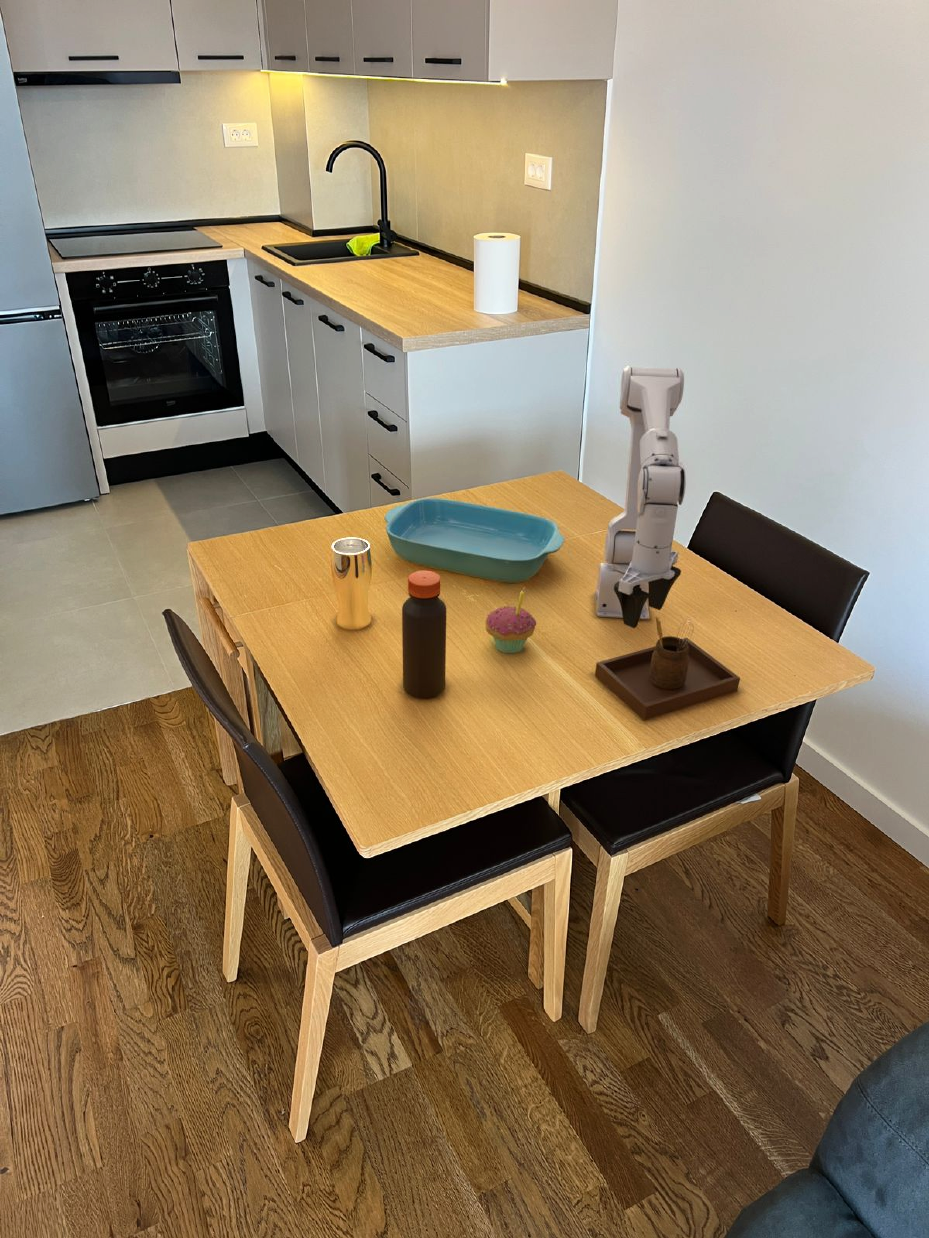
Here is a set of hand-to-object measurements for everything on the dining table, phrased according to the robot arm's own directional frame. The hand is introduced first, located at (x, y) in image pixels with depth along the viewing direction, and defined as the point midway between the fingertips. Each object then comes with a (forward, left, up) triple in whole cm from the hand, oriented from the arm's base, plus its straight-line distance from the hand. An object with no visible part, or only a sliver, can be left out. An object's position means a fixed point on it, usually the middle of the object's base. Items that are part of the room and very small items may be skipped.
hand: (642, 616), depth 151 cm
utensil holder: (+5, -4, -10) cm, 12 cm away
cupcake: (-21, +5, -10) cm, 24 cm away
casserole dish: (-30, +37, -10) cm, 49 cm away
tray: (+5, -3, -10) cm, 12 cm away
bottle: (-34, -9, -10) cm, 37 cm away
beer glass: (-49, +10, -10) cm, 51 cm away
